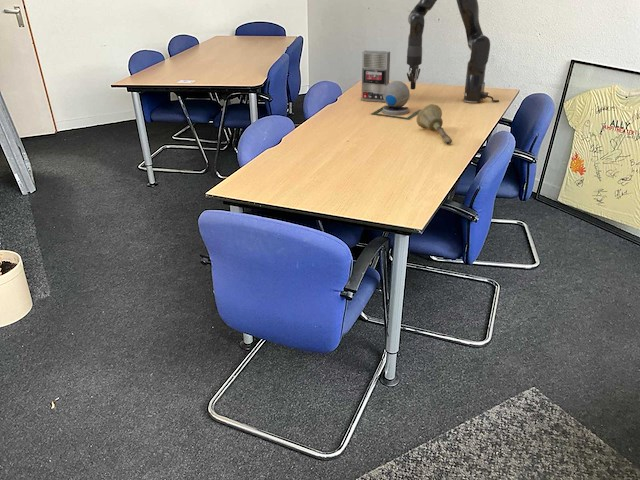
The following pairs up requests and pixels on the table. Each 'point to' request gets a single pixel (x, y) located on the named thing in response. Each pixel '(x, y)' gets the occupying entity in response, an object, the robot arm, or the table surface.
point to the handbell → (432, 120)
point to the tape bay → (394, 116)
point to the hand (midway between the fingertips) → (412, 89)
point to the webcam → (396, 98)
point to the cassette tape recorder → (375, 74)
